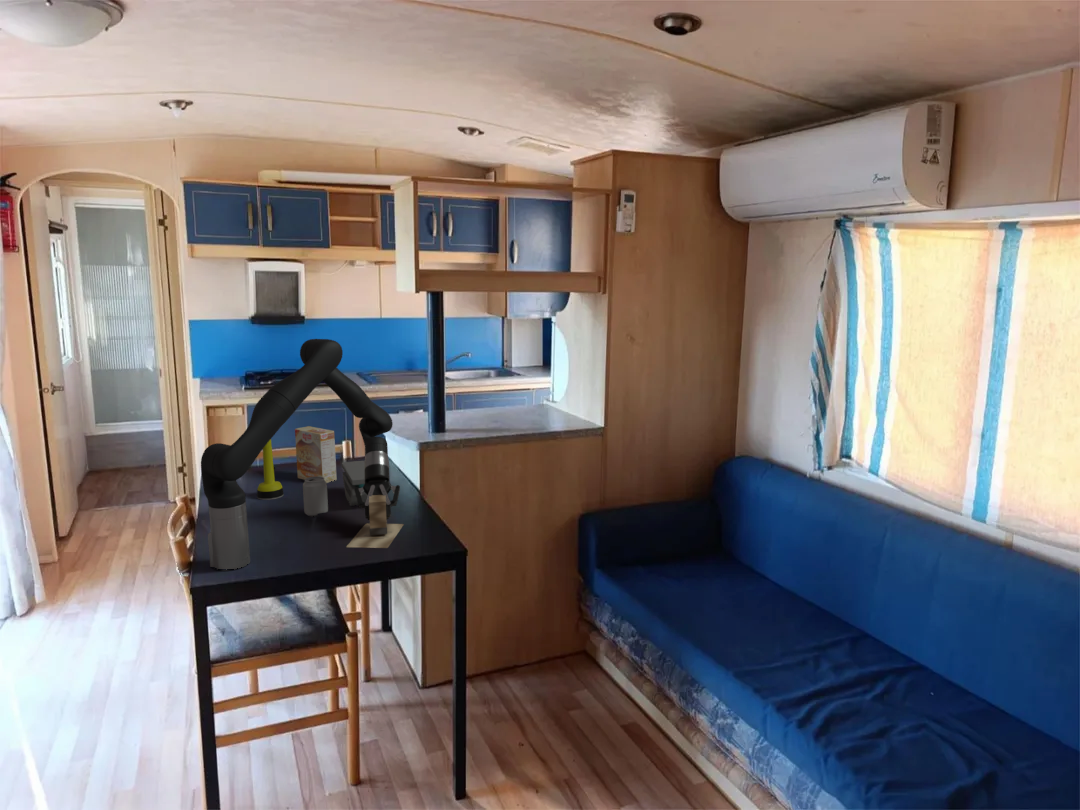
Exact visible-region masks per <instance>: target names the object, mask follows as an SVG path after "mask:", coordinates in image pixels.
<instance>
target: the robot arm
mask: <svg viewBox="0 0 1080 810" xmlns="http://www.w3.org/2000/svg"><path fill="white" fill-rule="evenodd" d="M299 356H300V360H301V362H302V363H303V366H301V367H300V368H299V369H298V370H296V371H295V372H293V373H292V374H290V375H288V376H286V377H284V378H283V379H282V380H280V381H278V382H277V383H275V384H274V385H272V386H271V387H270V388H269V389H268V390H267V391H266V392H265V393H264V395H263V396H261V397H260V399H259V400H258V401H257V403H256V404H255V406H254V408H253V411H252V414H251V418H250V421H249V424H248V425H247V428H246V429H245V431H244V432H243V433H242V434H241V435H240V436H239V437H238V438H237V439H236V440H235V441H234V442H233V443H232V444H231V445H230V444H225V443H219V442H218V443H213V444H210V445H209V446H207V447H206V448H205V449H204V451H203V453H202V455H201V459H200V472H201V479H202V487H203V493H204V496H205V497H206V499H207V503H208V513H209V514H208V516H209V526H210V531H209V533H207V543H208V555H209V556H208V557H209V568H210V567H215V568H217V569H216V570H218V569H226V570H225V571H228V570H227V569H234V570H238V569H241V567H242V568H243V567H246V566H248V565H249V564H250V563H251V553H250V552H251V551H250V542H249V540H250V539H249V529H248V528H249V527H248V525H249V524H248V513H247V512H248V511H247V501H246V498H247V497H246V493H245V491H244V489H243V488H242V487H241V486H240V485H239V483H238V482H237V480H240V479H241V478H242V477H243V476H244V475H245V474H246V473H247V472H248V471H249V470H250V468H251V466H252V465H253V463H254V462H256V459H257V458H258V456H259V455H260V454H261V452H263V448H264V447H265V445H266V444H267V443H268V442H269V440H270V439H271V440H272V438H273V437H274V436H275V435H276V433H278V431H279V430H280V428H281V427H282V426H284V424H285V423H286V422H287V421H288V420H289V419H290V418H291V416H293V414H294V413H295V412H296V411H297V410H298V408H299V407H300V405H301V404H303V402H304V401H305V400H306V399H307V398H308V397H309V395H311V393H312V392H313V391H314V390H315V389H316V388H317V386H318V385H320V384H321V383H322V382H323V383H325V385H327V386H328V388H330V389H331V391H333V393H334V394H336V396H338V398H339V399H340V400H341V401H342V402H343V404H344V405H345V406H346V408H347V409H348V410H349V411H350V412H351V413H352V415H353V416H354V417H356V418H358V419H360V421H359V423H358V428H359V431H360V435H361V437H362V441H363V445H364V461H365V462H364V471H365V484H364V486H363V487H362V488H359V489H358V488H357V487H356V488H355V495H356V498H357V502H358V507H359V508H360V509H364V517H365V519H366V520H367V521H370V516H369V496H372V495H383V496H385V495H386V519H387V520H389V518H391V516H392V514H391V513H392V512H391V509H392V507H396V506H397V504H398V502H399V501H398V500H399V496H400V493H401V492H400V491H401V486H400V485H399V484H397V485H396V486H395V485H392V484H391V481H390V460H389V451H388V449H389V447H388V441H387V439H385V438H384V437H382V436H380V435H383V434H386V433H388V432H390V431H391V430H392V428H393V423H394V422H393V419H392V417H391V415H390V414H389V413H388V412H387V411H386V410H385V409H383V408H382V407H380V406H379V405H378V404H376V403H375V402H374V401H372V400H371V399H370V397H369V396H368V394H367V393H366V392H365V391H364V390H363V389H362V387H361V386H360V385H358V384H357V382H356V381H354V380H353V379H351V378H349V376H348V375H346V374H344V372H342V371H341V370H340V369H339V368H338V366H339V365H340V363H341V362H342V358H343V348H342V345H341V344H340V343H339V342H338V341H336V340H332V339H328V338H310V339H308V340H306V341H304V342H303V343H302V345H301V346H300V350H299ZM391 490H392V493H393V496H392V500H390V498H389V493H390V492H391ZM363 491H364V492H365V493H366V494H367V495H368V496H367V500H366V502H363V501H362V498H361V495H362V492H363ZM247 564H248V565H247ZM215 568H214V569H215ZM237 568H238V569H237Z"/></svg>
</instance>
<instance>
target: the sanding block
mask: <svg viewBox="0 0 1080 810" xmlns="http://www.w3.org/2000/svg"><path fill="white" fill-rule="evenodd" d="M369 516H370V520H369V523H370V535H380V534H387V524H388V519H386V495H385V496H383V495H372V496H369Z"/></svg>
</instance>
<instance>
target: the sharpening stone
mask: <svg viewBox="0 0 1080 810" xmlns="http://www.w3.org/2000/svg"><path fill="white" fill-rule="evenodd" d="M364 462H365V459H364V460H355V461H343V462H341V468H342V469H343V471H344V472H342V481H343V486H344V487H343V488H344V493H345V498H346V501H347V502H348V501H349V502H348V504H349V503H350V504H349V506H350V505H351V506H350V507H356V506H355V505H358V502H357V498H356V495H355V488H356V487H357V488H358V489H359V488H362V487H363V486H364V484H365V471H364ZM367 496H368V495H367V494H366V493H365V492H364V491H363V492H362V495H361V498H362V501H363V502H366V500H367ZM358 506H359V505H358Z"/></svg>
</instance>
